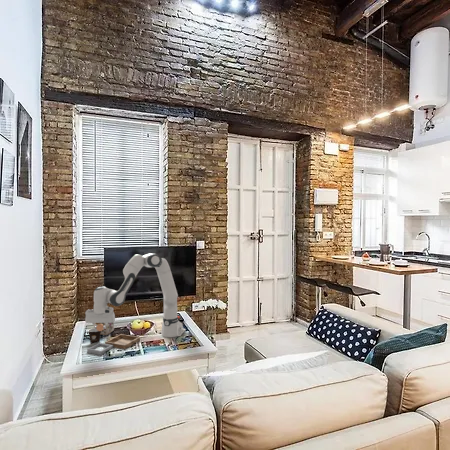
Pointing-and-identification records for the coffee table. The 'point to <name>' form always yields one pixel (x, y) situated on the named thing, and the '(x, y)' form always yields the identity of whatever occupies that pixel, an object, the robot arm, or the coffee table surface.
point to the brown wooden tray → (123, 341)
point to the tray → (98, 352)
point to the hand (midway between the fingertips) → (100, 328)
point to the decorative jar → (108, 328)
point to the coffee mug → (93, 335)
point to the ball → (100, 327)
